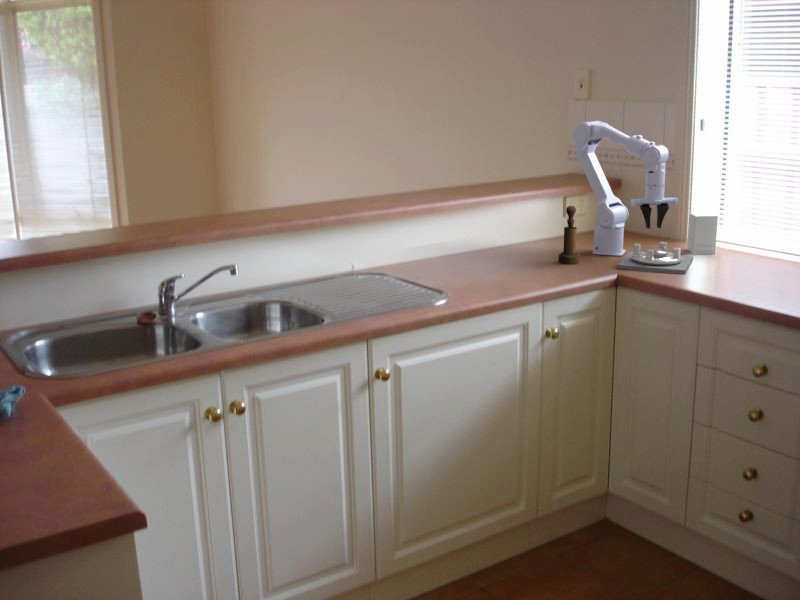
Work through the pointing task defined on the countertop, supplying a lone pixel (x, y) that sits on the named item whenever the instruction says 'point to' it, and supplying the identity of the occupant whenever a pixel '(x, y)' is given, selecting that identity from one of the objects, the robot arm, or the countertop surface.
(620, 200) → the robot arm
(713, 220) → the supplement box
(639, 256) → the domed lug disc
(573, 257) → the brown chess piece
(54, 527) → the countertop surface
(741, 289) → the countertop surface
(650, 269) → the cap plate
